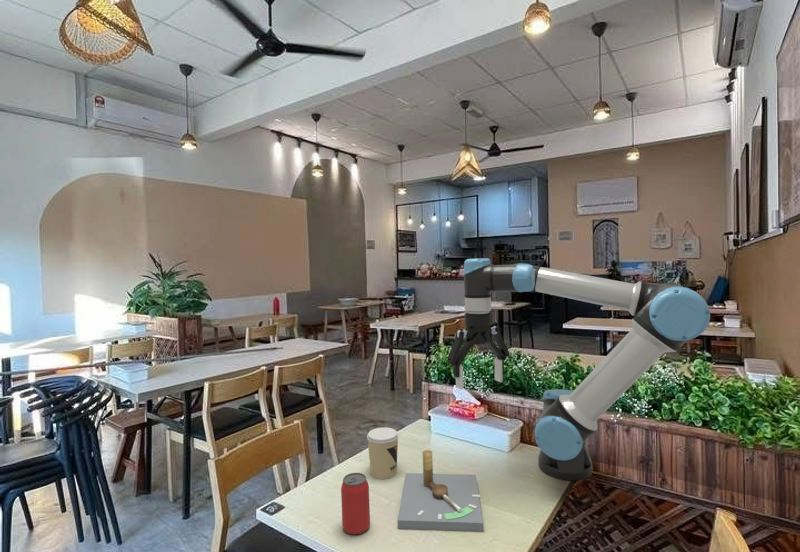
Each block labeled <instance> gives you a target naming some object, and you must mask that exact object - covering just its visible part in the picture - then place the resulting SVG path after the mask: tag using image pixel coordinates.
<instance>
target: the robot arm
mask: <svg viewBox="0 0 800 552" xmlns="http://www.w3.org/2000/svg"><path fill="white" fill-rule="evenodd" d="M463 287H464V289H463V290H464V310H465V313H464V323H465V330H459V329H457V330H455V339H454V341H453V343H452V346H451V349H450V351H449V354H448V356H447V358H446V363H447V364H449V365H451V366H452V370H453V371H452V373H453V377H455V388H457V389H459V390H464V366H463V365H462V363H463V362H464V360H465V358H466V357H467V355H468V353H470V350H471V349H472V348H473V347H474V346H479V345H486V346H487V347H488V348H489V349H490V350H491V352H492V353H493V355H494V356H495V357H496V358H494V359H493V360H494V362H493V363H494V381H496V382H499V383H503V370H504V369H505V361H506V360H507V358H508V357H510V355H511V354H510V351H509V349H508V347H507V345H506V343H505V341H504V339H503V336H502V333H501V328H500V326H496V325H492V313H491V310H492V295H491V294H492V292H507V293H508V292H510V293H511V292H513V293H514V292H515V293H516V292H518V293H523V292H524V293H525V292H526V293H527V292H528V293H529V292H537V293H542V294H547V295H551V296H556V297H561V298H567V299H570V300H571V299H572V300H575V301H580V302H584V303H589V304H594V305H600V306H604V307H608V308H613V309H618V310H622V311H623V310H624V311H627V312H629V313H630V315H631V316H633V318H632V319H631V322H632V323H631V324H632V329H630V331H628V333H627V334H626V335H625V336H624V337H623V338H622V339H621V340H620V341H619V342H618V343H617V344H616V345H615V347H613V348H612V350H611V351H610V352H609V353H608V354H607V355H606V356H605V357H604V358H602V360H601V361H600V362H599V363H598V365H596V367H594V369H593V370H591V372H590V373H589V374H588V375H587V376H586V377H585V378H584V379H583V380H582V381H581V383H579V384H578V386H576V387H575V389H574V390H570V389H569V390H568V389H554V388H553V389H546V390H545V391H544V392H543V396H542V401H543V406H542V411H541V413H540V415H539V418H538V420H537V422H536V423H535V425H534V439H535V442H536V445H537V446H538V448H539V449H540V450H539V453H538V456H537V461H538V463H537V464H538V465H537V466H538V467H539V469H540V471H542V472H543V473H545V474H546V475H549V476H550V477H553V478H556V479H560V480H564V481H582V480H585V479H588V478H590V477H591V476H592V475H593V472H594V470H593V468H594V466H593V461H592V459H591V456H590V453H589V450H588V447H587V443H586V441H587V440H588V439H590V437H591V436H592V435H593V434H594V433H595V432H596V431H597V430H598V419H600V418H601V416H602V415H603V414H604V413H605V412H607V410H608V409H610V408H611V406H613V404H615V403H616V401H617V400H618V399H620V397H621V396H623V394H625V393H626V391H628V389H629V388H631V387H632V386H633V384H634V383H635V382H637V381H638V380H639V379H640V378H641V377H642V376H643V375H644V374H645V373H646V371H648V369H650V368H651V367H652V366H653V364H655V363H656V361H658V359H659V358H660V357H662V355H664V354H665V353H677V351H678V350H679V349H680V348H681V347H682V346H683V345H685V343H687V342H688V341H691V340H693V339H695V338H696V337H699V336H700V335H702V334H703V333H704V332H705V331H706V329H707V328H708V326H709V324H710V320H711V310H710V307H709V305H708V303H707V301H706V300H705V299H704V297H703V296H702V295H701V294H699V293H698V292H697V291H694V290H693V289H692V288H689V287H685V286H683V285H678V284H676V283H674V284H671V283H656V282H655V283H654V282H647V281H640V280H639V281H638V282H636V283H631V282H626V281H619V280H615V279H610V278H604V277H600V276H592V275H588V274H581V273H577V272H571V271H566V270H565V271H564V270H559V269H555V268H550V267H543V266H538V265H532V264H529V263H525V262H518V263H513V264H492V263H491V260H490V258H487V257H486V258H467V259H465V261H464V263H463ZM491 335H492V336H493V338H492V337H491ZM493 339H494V340H493ZM494 341H495V342H494Z"/></svg>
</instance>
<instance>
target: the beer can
mask: <svg viewBox="0 0 800 552" xmlns="http://www.w3.org/2000/svg"><path fill="white" fill-rule="evenodd" d="M340 494H341V495H340V497H341V518H342V519H341V520H342V522H341V523H342V528H343V531H344V532H345V533H347V534H350V535H360V534H362V533H366V531H368V529H369V527H370V526H371V514H370V511H371V510H370V509H371V508H370V485H369V483H368V480H367V476H366V475H365V474H364V473H362V472H361V473H360V472H351V473H347V474H346V475H345V476H344V477H343V478H342V484H341V488H340Z"/></svg>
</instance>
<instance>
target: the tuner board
mask: <svg viewBox="0 0 800 552" xmlns="http://www.w3.org/2000/svg"><path fill="white" fill-rule="evenodd" d="M403 481H404V482H403V488H402V493H401V498H400V503H399V510H398V516H397V529H398V530H399V529H402V530H403V529H404V530H431V531H432V530H435V531H437V530H438V531H454V532H455V531H458V532H459V531H462V532H484V521H483V515H482V514H483V513H482V506H481V502H480V498H481V494H479V488H478V481H477V475H476V474H469V473H468V474H462V473H461V474H460V473H459V474H458V473H433V482H434V483H435V484H436V485H437V484H443V485H445V486H447V488H448V495H447V496H448V497H449V498H450V499H451V500H452V501H453V502H454V503H455V504H457V505H458V506H459V507H460V508H461V511H459V512H458V511H457V510H456V509H455V508H454V507H453V506H452V505H451V504H450V503H449V502H447V501H446V500H445V499H444V498H436V497H434V496H433V494H432V489H431V488H430V487H429V486H426V485H424V479H423V473H421V472H419V473H418V472H417V473H416V472H415V473H413V472H406V473H405V475H404V480H403Z"/></svg>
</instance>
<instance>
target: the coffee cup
mask: <svg viewBox="0 0 800 552" xmlns="http://www.w3.org/2000/svg"><path fill="white" fill-rule="evenodd" d="M366 438H367V446H368V456H369V457H368V459H369V467H370V474H371V476H372V477H373V478H376V479H380V480H386V479H391V478H393V477H394V476H396V474H397V469H398V447H399V445H398V444H399V443H398V441H399V432H397V430H396V429H394V428H392V427H391V428H390V427H377V428H374V429H371V430H370V431H369V432H368V433H367V436H366Z"/></svg>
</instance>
